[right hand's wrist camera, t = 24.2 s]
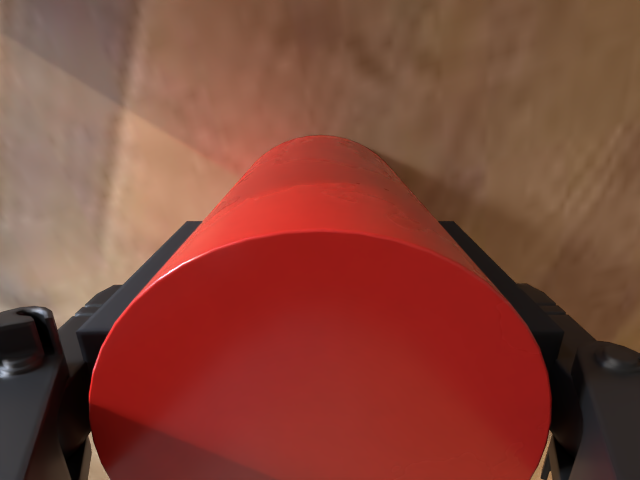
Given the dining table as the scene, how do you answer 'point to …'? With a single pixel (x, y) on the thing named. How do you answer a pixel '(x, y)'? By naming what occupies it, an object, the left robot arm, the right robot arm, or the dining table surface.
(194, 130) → the dining table surface
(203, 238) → the tin
